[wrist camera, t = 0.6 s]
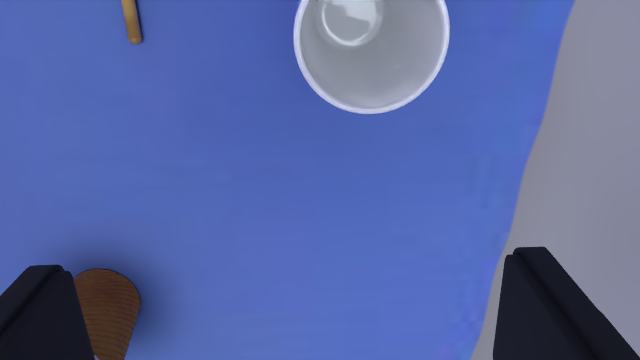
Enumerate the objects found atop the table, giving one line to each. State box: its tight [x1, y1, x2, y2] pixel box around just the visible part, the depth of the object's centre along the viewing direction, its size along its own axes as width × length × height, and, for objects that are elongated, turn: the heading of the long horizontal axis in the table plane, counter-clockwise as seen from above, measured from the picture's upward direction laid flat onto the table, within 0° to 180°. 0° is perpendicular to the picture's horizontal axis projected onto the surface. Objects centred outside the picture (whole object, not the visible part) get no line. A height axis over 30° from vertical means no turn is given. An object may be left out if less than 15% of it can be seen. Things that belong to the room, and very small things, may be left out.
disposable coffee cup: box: [73, 269, 141, 360], centre depth 38 cm, size 10×10×12 cm
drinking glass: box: [293, 0, 450, 114], centre depth 28 cm, size 7×7×15 cm
